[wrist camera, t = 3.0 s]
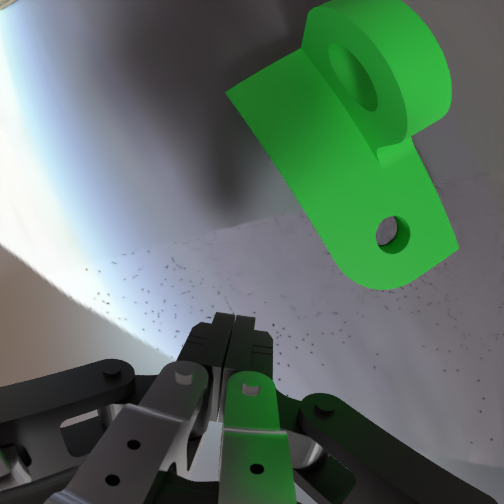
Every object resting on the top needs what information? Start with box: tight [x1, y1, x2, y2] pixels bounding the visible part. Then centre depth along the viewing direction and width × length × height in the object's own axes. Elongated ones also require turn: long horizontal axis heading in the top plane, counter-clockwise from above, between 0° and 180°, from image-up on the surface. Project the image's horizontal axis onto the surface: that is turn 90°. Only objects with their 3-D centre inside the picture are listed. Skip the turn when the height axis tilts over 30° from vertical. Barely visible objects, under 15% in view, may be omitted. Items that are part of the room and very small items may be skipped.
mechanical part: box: [225, 0, 459, 290], centre depth 11 cm, size 12×6×8 cm, turn 33°
